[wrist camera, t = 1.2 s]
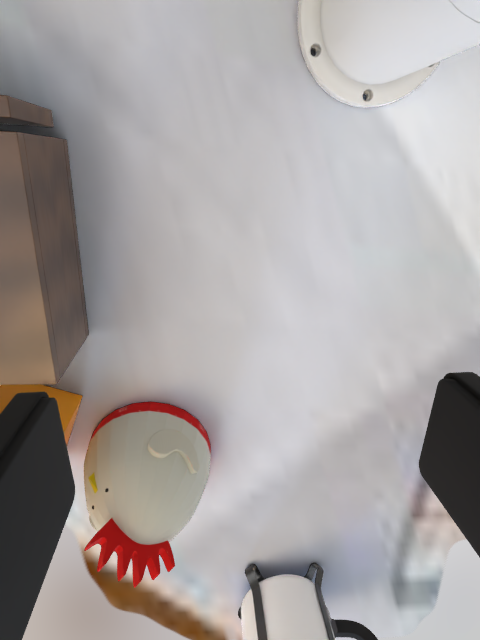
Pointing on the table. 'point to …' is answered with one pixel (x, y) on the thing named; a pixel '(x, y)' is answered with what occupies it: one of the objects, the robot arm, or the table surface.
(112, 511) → the kitchen timer
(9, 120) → the drawer
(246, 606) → the coffee press
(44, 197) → the cabinet
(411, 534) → the table surface
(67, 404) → the orange juice
